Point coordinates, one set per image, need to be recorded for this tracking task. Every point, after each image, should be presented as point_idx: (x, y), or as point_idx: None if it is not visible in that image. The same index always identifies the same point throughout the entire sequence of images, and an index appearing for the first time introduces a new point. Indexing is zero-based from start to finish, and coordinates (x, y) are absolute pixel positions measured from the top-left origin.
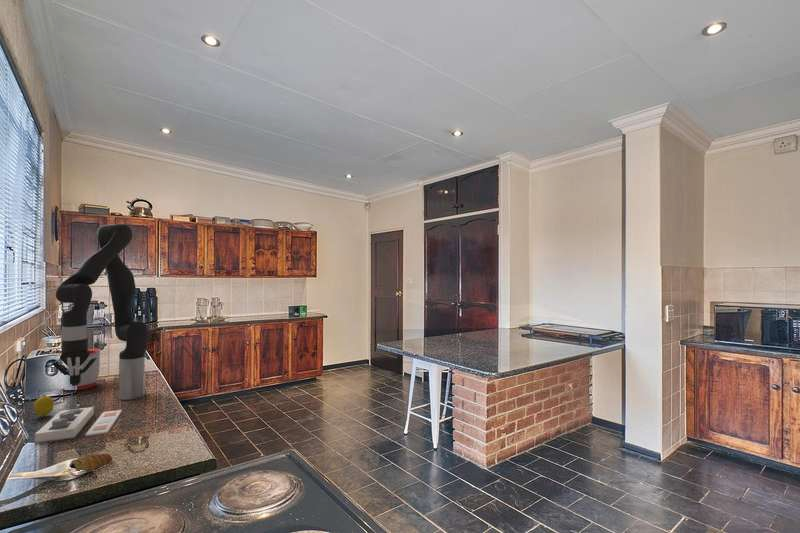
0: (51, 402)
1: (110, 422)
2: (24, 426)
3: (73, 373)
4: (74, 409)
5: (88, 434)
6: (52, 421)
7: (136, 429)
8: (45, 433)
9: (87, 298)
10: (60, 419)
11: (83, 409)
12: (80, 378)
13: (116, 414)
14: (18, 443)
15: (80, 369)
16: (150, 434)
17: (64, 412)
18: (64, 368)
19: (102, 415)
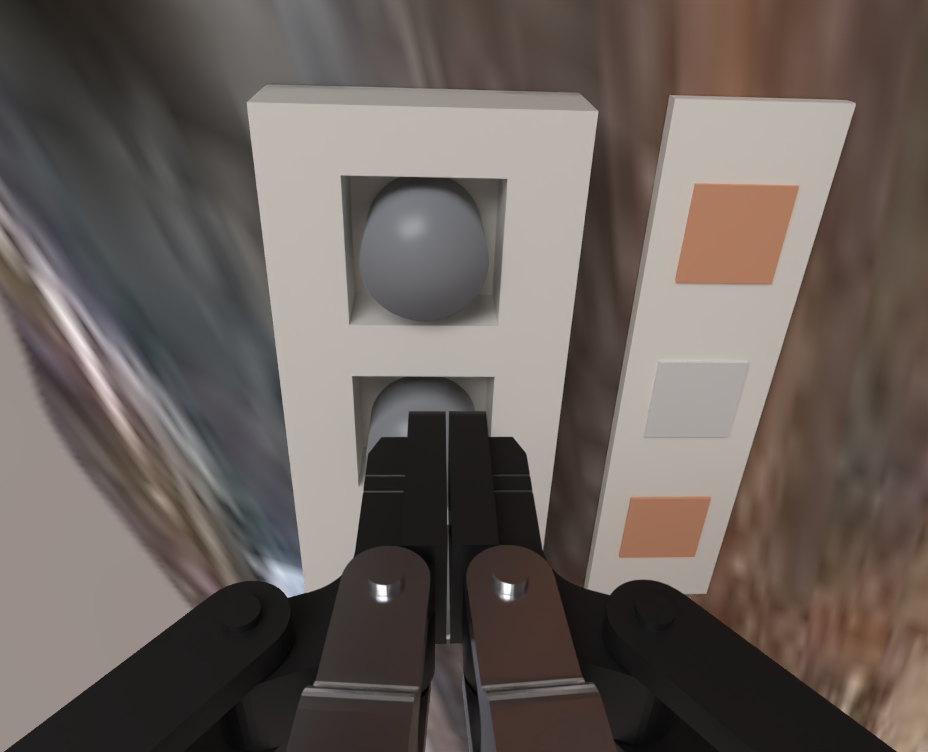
0: None
1: (728, 444)
2: (8, 192)
3: (429, 688)
4: (418, 210)
5: (601, 592)
6: None
7: (860, 584)
8: None
9: None
10: None
11: (500, 173)
12: (530, 507)
13: (787, 255)
14: (214, 556)
15: (556, 661)
16: (906, 669)
17: (388, 430)
18: (158, 736)
19: (669, 226)
